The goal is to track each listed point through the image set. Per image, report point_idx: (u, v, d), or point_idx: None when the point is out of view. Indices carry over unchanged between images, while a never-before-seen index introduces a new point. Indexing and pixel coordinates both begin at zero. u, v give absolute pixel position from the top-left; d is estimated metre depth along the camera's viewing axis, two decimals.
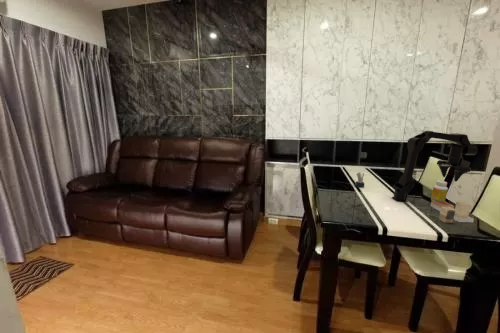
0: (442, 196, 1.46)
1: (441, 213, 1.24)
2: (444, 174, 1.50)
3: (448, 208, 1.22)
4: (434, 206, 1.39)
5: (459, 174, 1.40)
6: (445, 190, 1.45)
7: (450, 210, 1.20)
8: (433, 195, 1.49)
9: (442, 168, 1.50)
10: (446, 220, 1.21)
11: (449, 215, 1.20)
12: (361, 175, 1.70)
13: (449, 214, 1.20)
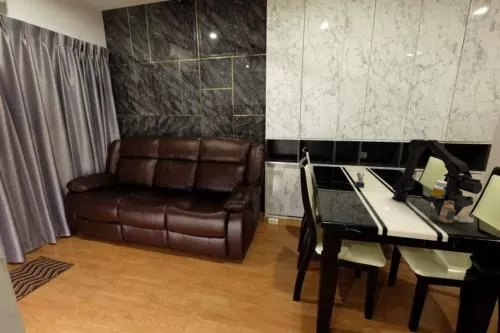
0: None
1: (441, 213, 1.24)
2: (455, 212, 1.22)
3: (448, 208, 1.22)
4: None
5: (438, 207, 1.22)
6: None
7: (450, 210, 1.20)
8: (433, 195, 1.49)
9: (455, 204, 1.23)
10: (446, 220, 1.21)
11: (449, 215, 1.20)
12: (361, 175, 1.70)
13: (449, 214, 1.20)
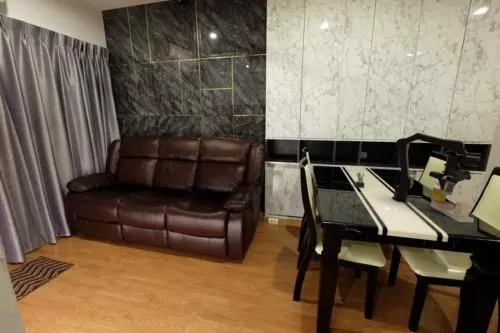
0: (442, 196, 1.46)
1: None
2: None
3: (448, 182, 1.32)
4: (434, 206, 1.39)
5: (442, 181, 1.32)
6: None
7: (450, 183, 1.30)
8: (433, 195, 1.49)
9: (450, 179, 1.34)
10: (446, 193, 1.32)
11: (449, 188, 1.30)
12: (361, 175, 1.70)
13: (449, 187, 1.30)
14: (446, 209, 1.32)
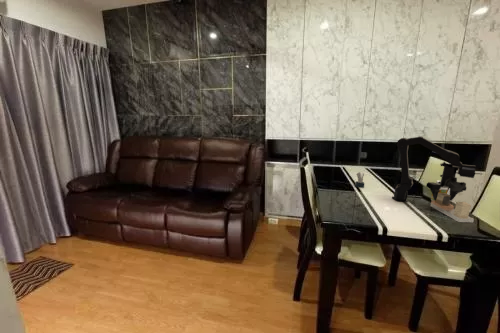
0: None
1: (437, 199, 1.38)
2: (450, 197, 1.37)
3: (444, 194, 1.36)
4: (434, 206, 1.39)
5: (434, 192, 1.36)
6: (445, 190, 1.45)
7: (446, 195, 1.34)
8: None
9: (450, 190, 1.38)
10: (442, 204, 1.36)
11: (445, 200, 1.34)
12: (361, 175, 1.70)
13: (445, 199, 1.34)
14: (446, 209, 1.32)
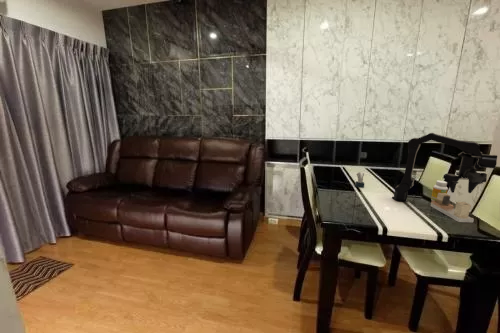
0: None
1: (437, 199, 1.38)
2: (469, 189, 1.30)
3: (444, 194, 1.36)
4: (434, 206, 1.39)
5: (452, 184, 1.29)
6: (445, 190, 1.45)
7: (446, 195, 1.34)
8: (433, 195, 1.49)
9: (469, 182, 1.30)
10: (442, 204, 1.36)
11: (445, 200, 1.34)
12: (361, 175, 1.70)
13: (445, 199, 1.34)
14: (446, 209, 1.32)
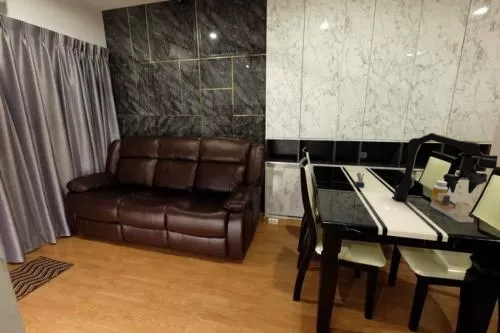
0: None
1: (437, 199, 1.38)
2: (469, 190, 1.30)
3: (444, 194, 1.36)
4: (434, 206, 1.39)
5: (452, 184, 1.29)
6: (445, 190, 1.45)
7: (446, 195, 1.34)
8: (433, 195, 1.49)
9: (469, 182, 1.30)
10: (442, 204, 1.36)
11: (445, 200, 1.34)
12: (361, 175, 1.70)
13: (445, 199, 1.34)
14: (446, 209, 1.32)
